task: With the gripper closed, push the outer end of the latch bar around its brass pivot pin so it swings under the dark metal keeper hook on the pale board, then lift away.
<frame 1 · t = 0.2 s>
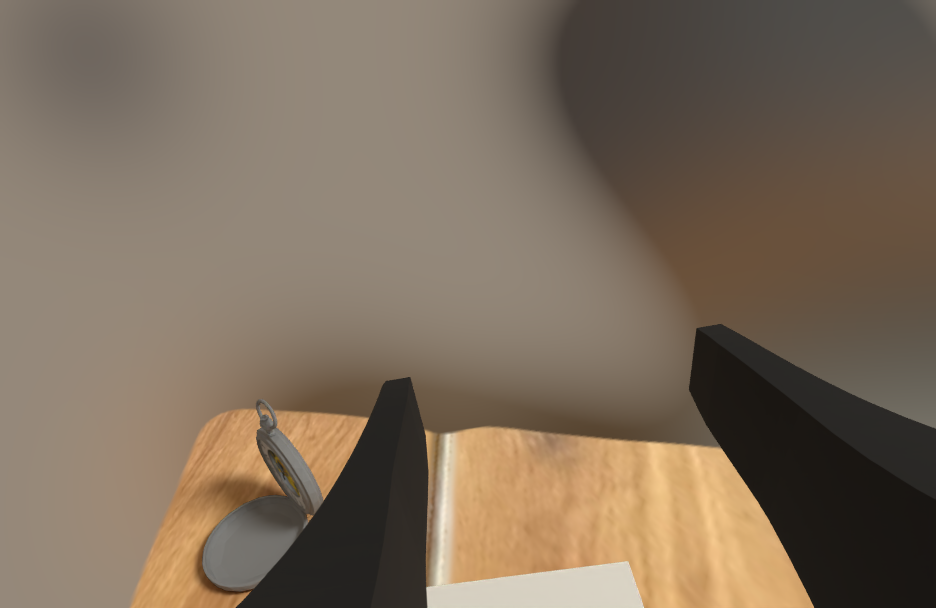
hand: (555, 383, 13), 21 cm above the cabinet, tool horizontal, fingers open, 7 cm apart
pocket watch: (278, 537, 35), on the cabinet
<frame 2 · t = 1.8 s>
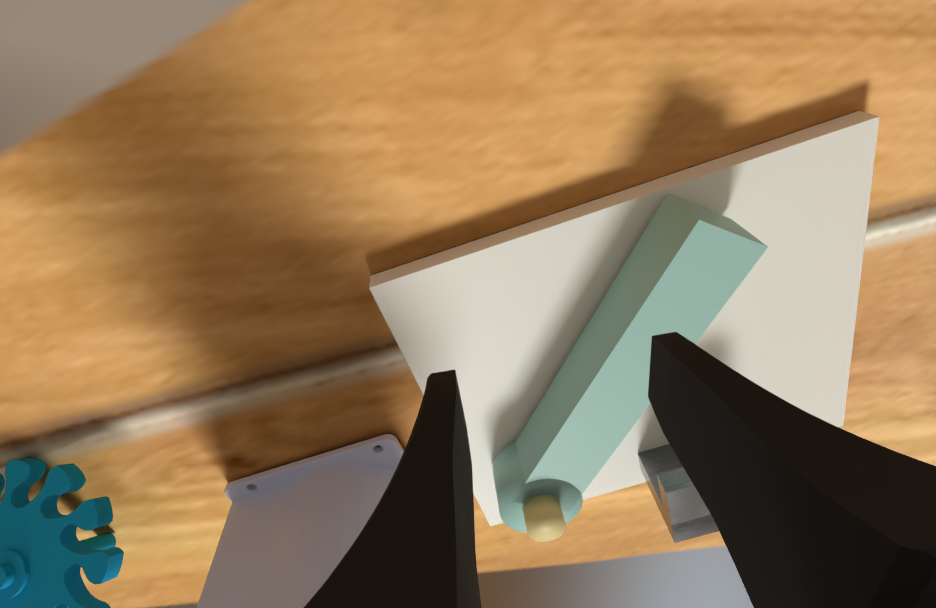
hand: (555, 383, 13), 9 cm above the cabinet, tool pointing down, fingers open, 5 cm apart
keeper: (662, 404, 27), on the cabinet
gear: (58, 499, 27), on the cabinet
board: (633, 354, 25), on the cabinet
latch bar: (604, 399, 22), point 3 cm above the cabinet, hinge at 50.0°
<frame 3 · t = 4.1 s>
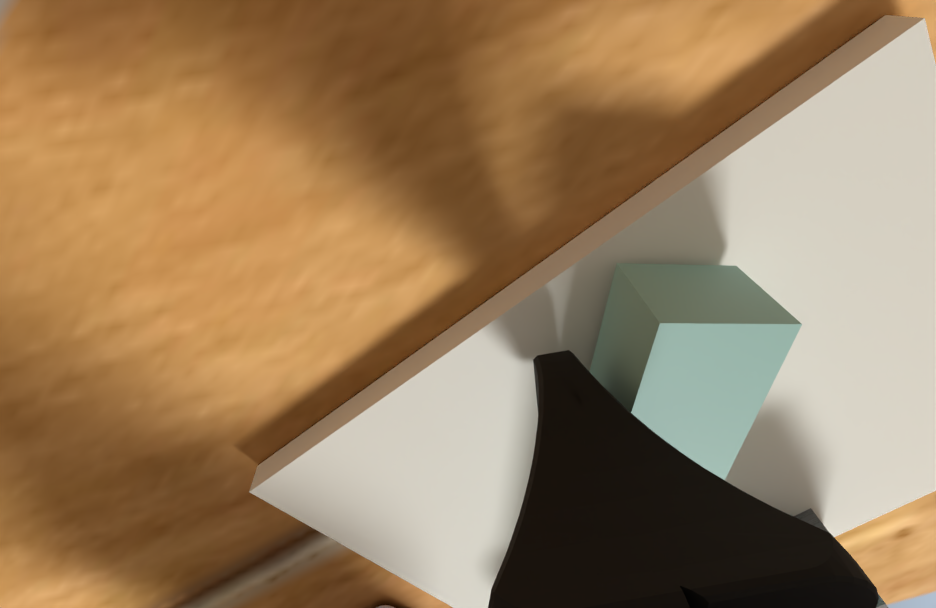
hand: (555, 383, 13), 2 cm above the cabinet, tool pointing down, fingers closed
keeper: (726, 486, 19), on the cabinet
board: (654, 445, 18), on the cabinet
latch bar: (622, 550, 15), point 3 cm above the cabinet, hinge at 47.4°, touching gripper
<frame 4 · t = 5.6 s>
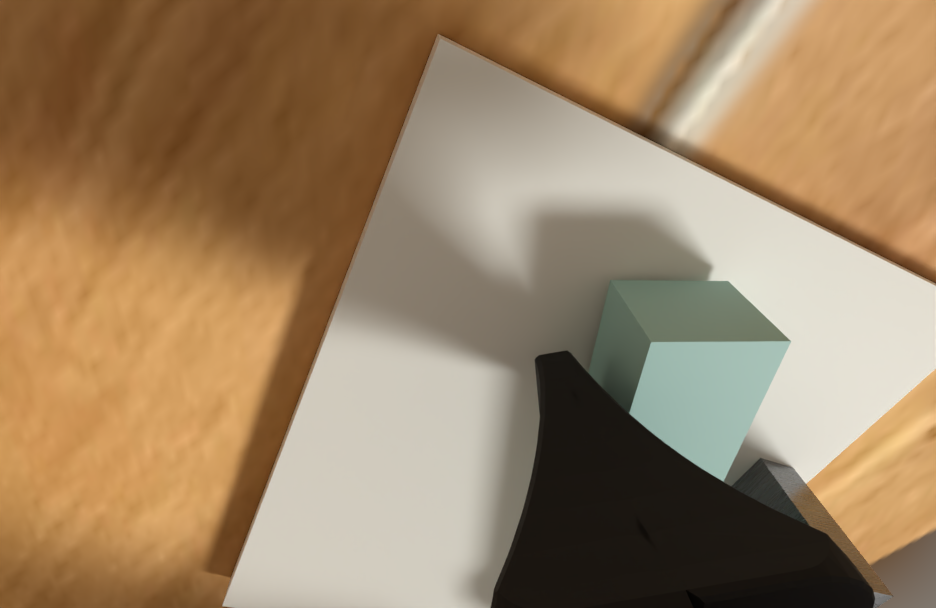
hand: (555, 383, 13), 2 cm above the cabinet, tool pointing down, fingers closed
keeper: (666, 460, 18), on the cabinet
board: (554, 454, 17), on the cabinet
latch bar: (619, 559, 15), point 3 cm above the cabinet, hinge at 21.1°, touching gripper
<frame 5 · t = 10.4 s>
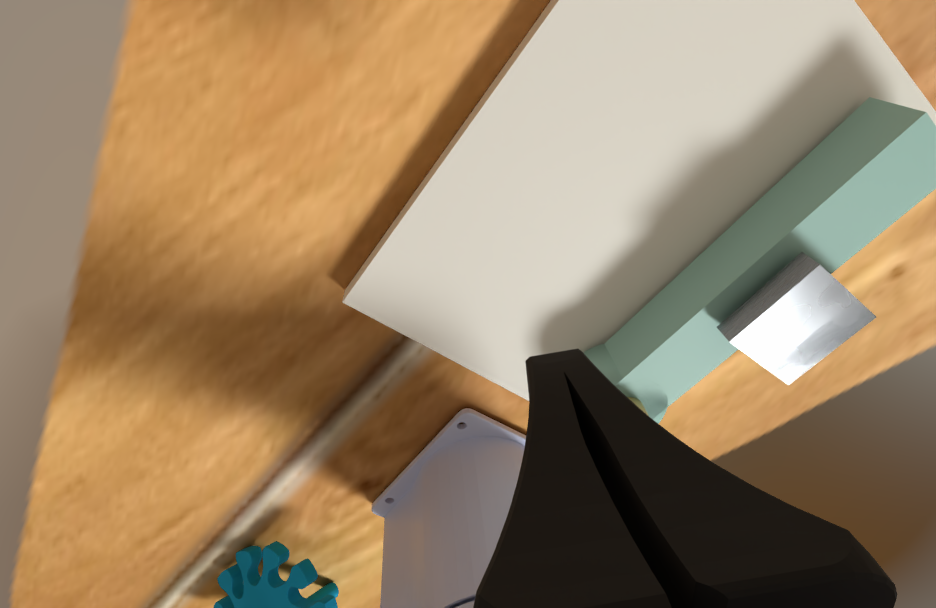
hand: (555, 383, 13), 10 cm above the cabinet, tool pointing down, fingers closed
keeper: (711, 248, 24), on the cabinet
gear: (284, 569, 34), on the cabinet
board: (636, 218, 22), on the cabinet
latch bar: (733, 303, 21), point 3 cm above the cabinet, hinge at -1.4°
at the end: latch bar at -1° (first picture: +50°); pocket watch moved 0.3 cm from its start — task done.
